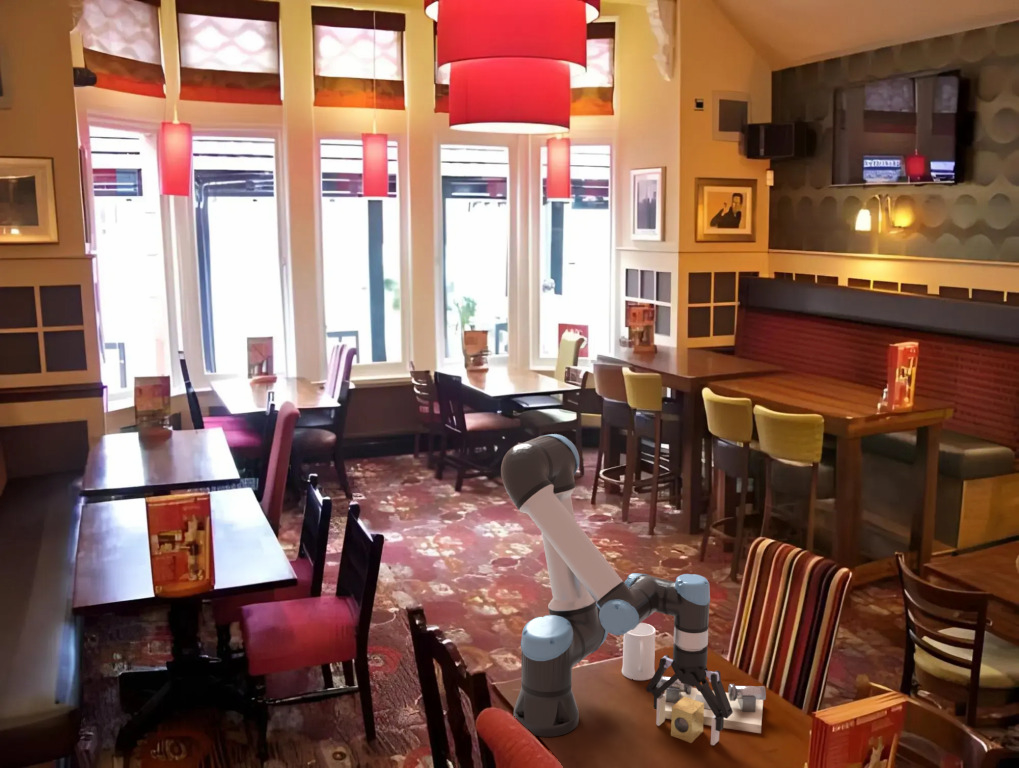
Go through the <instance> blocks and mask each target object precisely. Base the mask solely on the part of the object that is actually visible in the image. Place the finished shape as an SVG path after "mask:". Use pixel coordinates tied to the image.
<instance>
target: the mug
mask: <svg viewBox="0 0 1019 768" xmlns="http://www.w3.org/2000/svg"><path fill="white" fill-rule="evenodd" d="M622 642H623V645H622V668H621V674H622V675H623V676H624V677H625V678H626V679H629V680H632V679H633V680H634V681H649V680H651V679H652V678H653V676H654V674H655V673H656V671H655V657H656V656H655V652H656V628H655V627H654V626H653V625H651V624H649V623H645V622H641V623H639V624H638V625H637V627H636V628H634V629H633V630H630V631H628V632H627V633H625V634H623V641H622Z"/></svg>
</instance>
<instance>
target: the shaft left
mask: <svg viewBox="0 0 1019 768" xmlns="http://www.w3.org/2000/svg"><path fill="white" fill-rule="evenodd" d="M671 677H672V676H665V675H663V676H662V677H661V679H660V681H659V682H658V684H657V686H656V687H657V688H659V687H661V686H662V685H663V684H664V683H665V682H666V681H667V680H669V679H670V678H671ZM692 688H693V687H692V686H690V685H688V684H683V683H681V681H679V679H677V680H676V681H675V682H674V683H673V684H672V685H670V686H669V687H668V688H667V689H666V702H669V703H677V702H678V701H679V700H680V697H681V692H685V693H686V695H691V690H692Z"/></svg>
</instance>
